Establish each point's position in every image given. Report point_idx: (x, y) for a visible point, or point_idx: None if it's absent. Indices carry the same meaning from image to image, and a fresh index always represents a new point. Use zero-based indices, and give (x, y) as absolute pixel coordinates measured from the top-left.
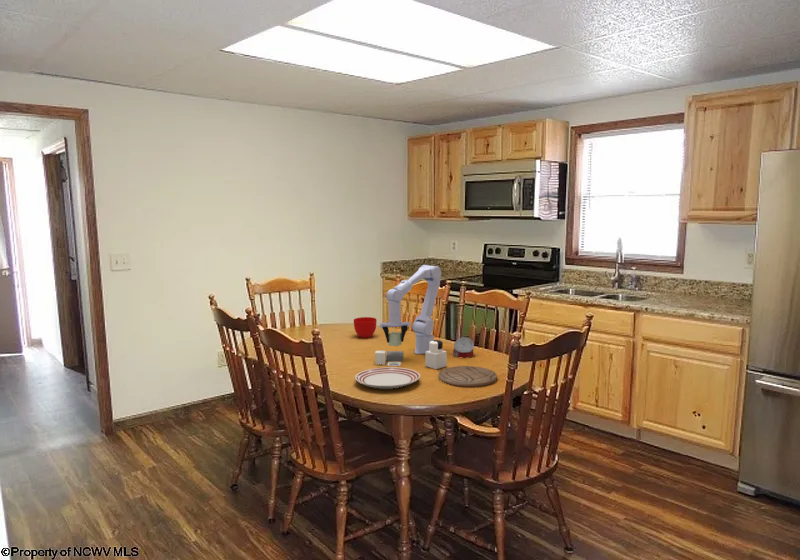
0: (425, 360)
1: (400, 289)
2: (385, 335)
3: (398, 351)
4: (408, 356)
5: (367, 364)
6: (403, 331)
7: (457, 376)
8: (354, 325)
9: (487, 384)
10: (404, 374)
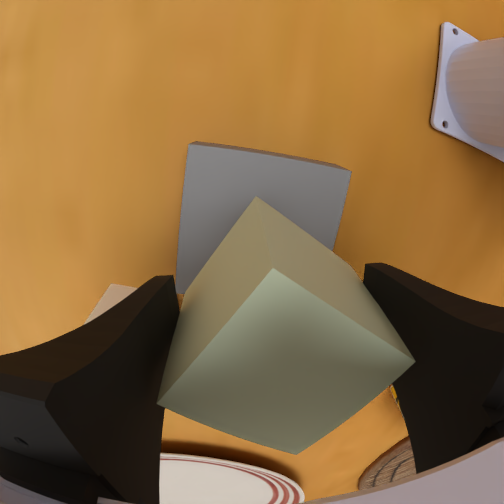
0: (399, 408)
1: None
2: (105, 316)
3: (303, 172)
4: (373, 177)
5: (72, 323)
6: (422, 443)
7: (406, 477)
8: None
9: None
10: (259, 477)
